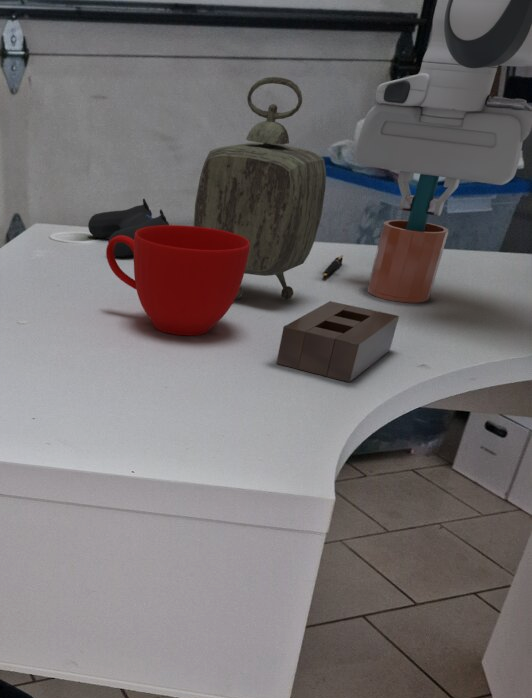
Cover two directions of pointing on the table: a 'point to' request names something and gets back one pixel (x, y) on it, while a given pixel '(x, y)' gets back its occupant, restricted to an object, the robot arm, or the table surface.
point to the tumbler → (406, 262)
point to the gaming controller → (124, 225)
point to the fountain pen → (333, 266)
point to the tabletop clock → (265, 193)
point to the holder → (337, 340)
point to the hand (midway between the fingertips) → (419, 212)
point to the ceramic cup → (184, 274)
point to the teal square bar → (422, 202)
